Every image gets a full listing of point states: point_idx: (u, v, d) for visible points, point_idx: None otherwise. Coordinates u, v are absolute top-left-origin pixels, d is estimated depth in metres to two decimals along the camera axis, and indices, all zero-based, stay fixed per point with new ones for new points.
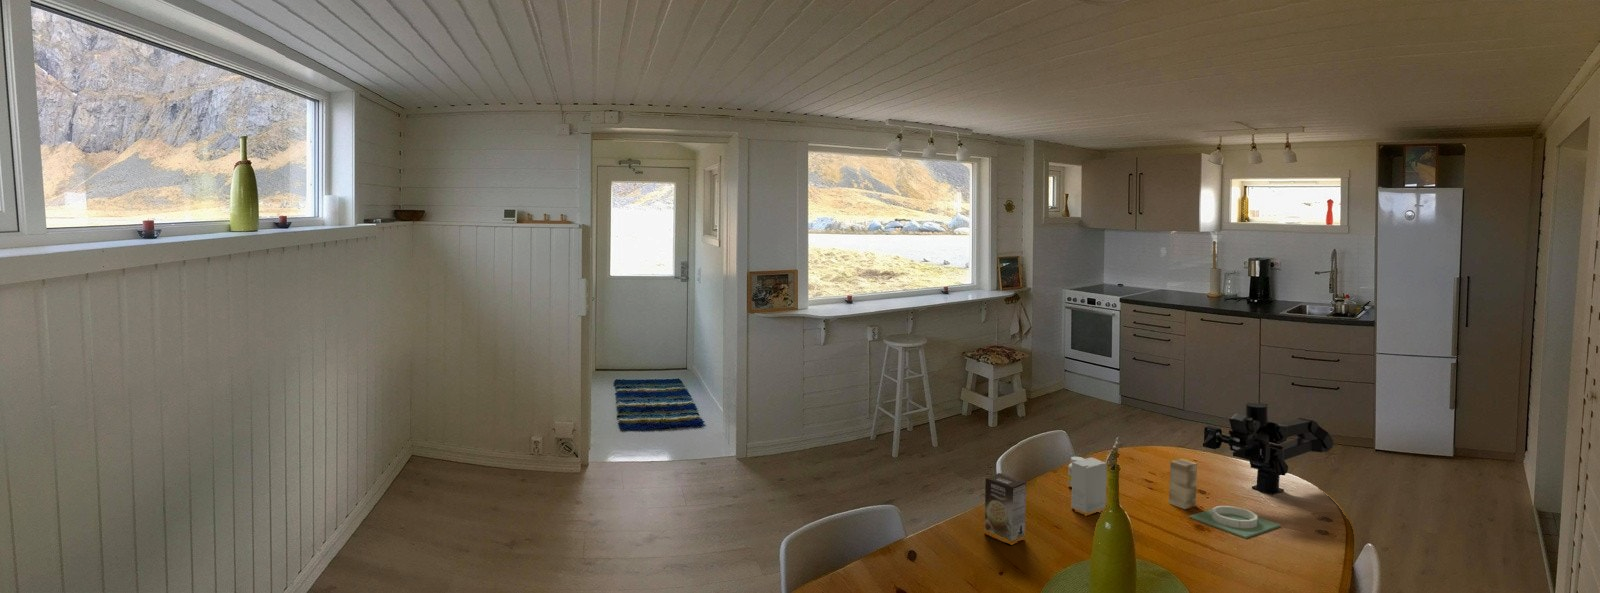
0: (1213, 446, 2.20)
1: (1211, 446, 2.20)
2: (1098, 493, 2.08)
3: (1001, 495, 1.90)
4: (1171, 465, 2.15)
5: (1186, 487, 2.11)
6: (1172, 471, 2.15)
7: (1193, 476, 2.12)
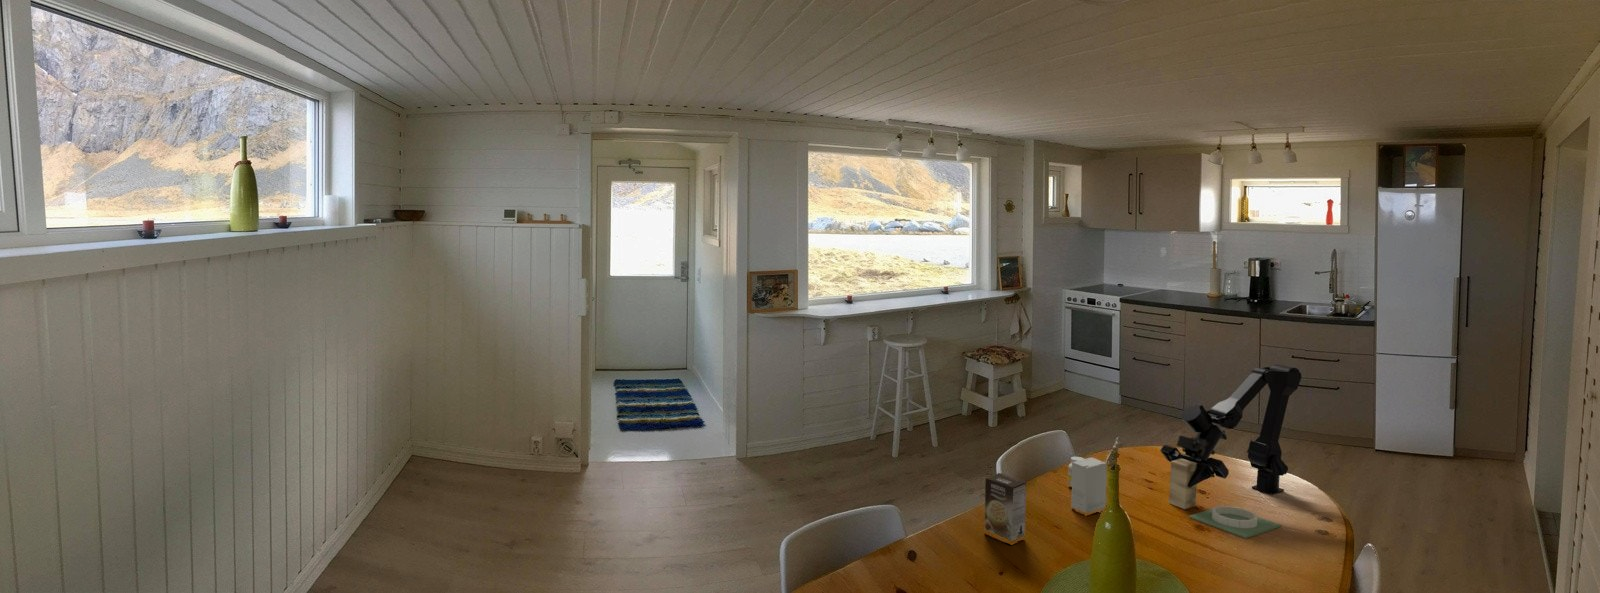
0: None
1: None
2: (1098, 493, 2.08)
3: (1001, 495, 1.90)
4: (1171, 465, 2.15)
5: (1186, 487, 2.11)
6: (1172, 471, 2.15)
7: None
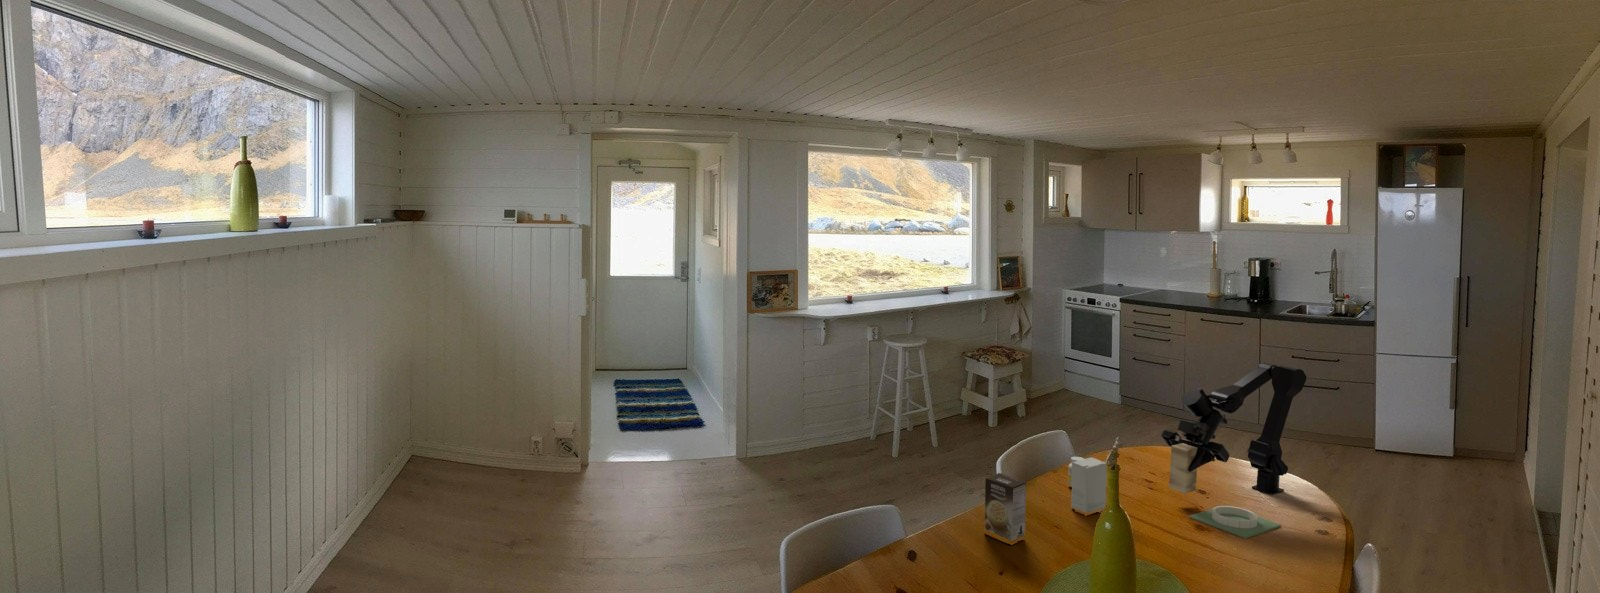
0: None
1: None
2: (1098, 493, 2.08)
3: (1001, 495, 1.90)
4: (1172, 450, 2.14)
5: (1186, 472, 2.11)
6: (1173, 455, 2.14)
7: None
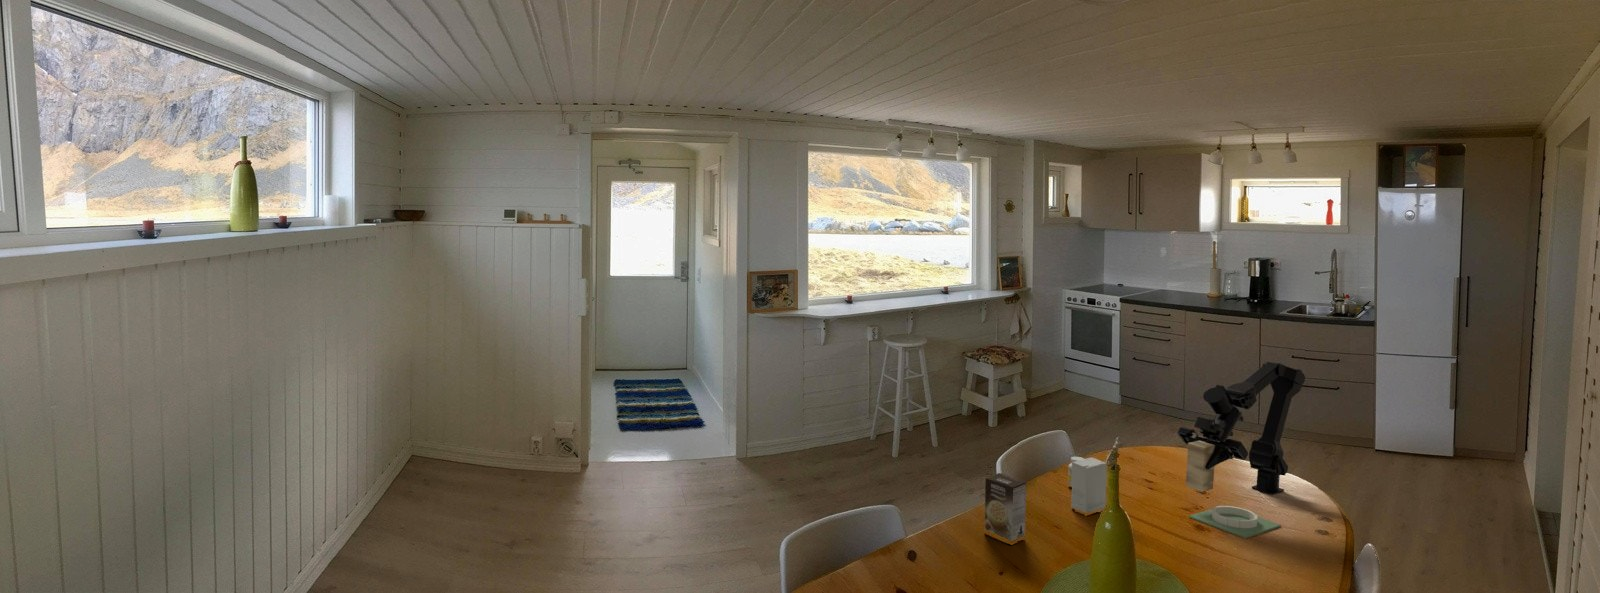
0: None
1: None
2: (1098, 493, 2.08)
3: (1001, 495, 1.90)
4: (1189, 447, 2.10)
5: (1203, 469, 2.07)
6: (1189, 453, 2.10)
7: None
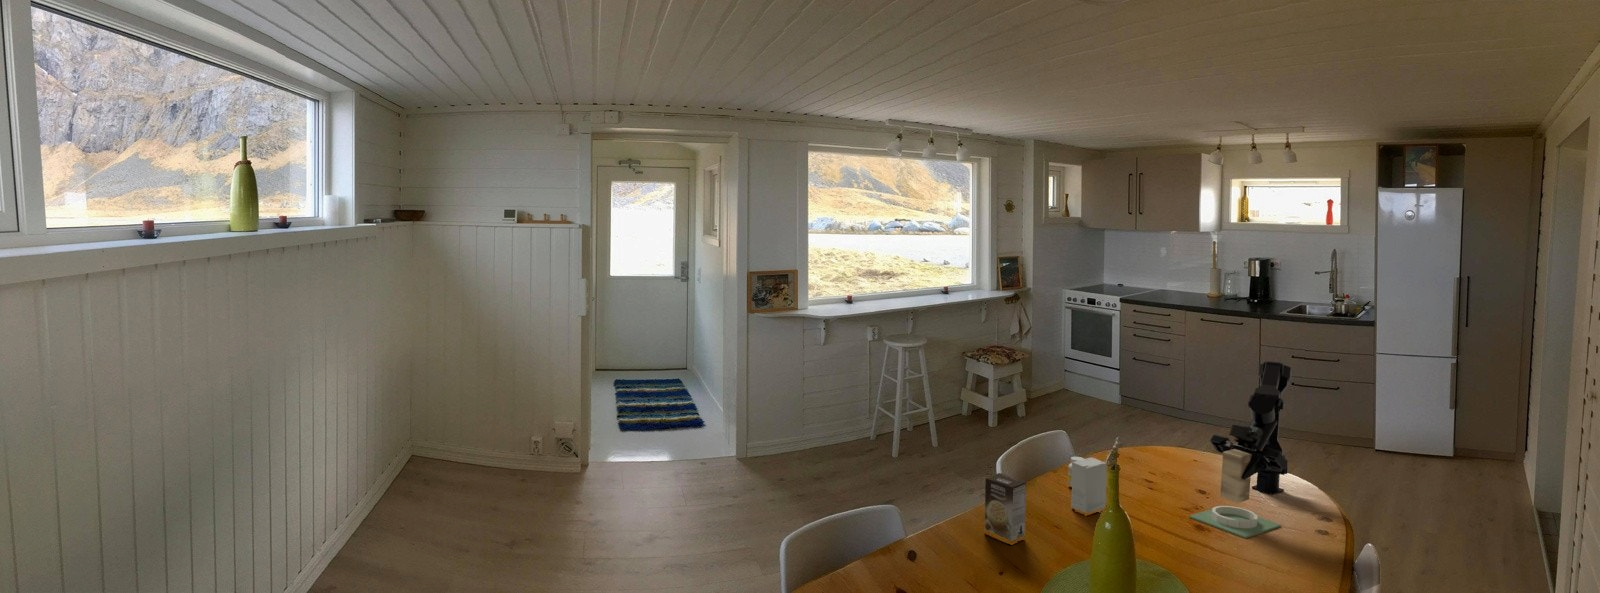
0: None
1: None
2: (1098, 493, 2.08)
3: (1001, 495, 1.90)
4: (1224, 456, 2.01)
5: (1240, 479, 1.98)
6: (1225, 462, 2.01)
7: None
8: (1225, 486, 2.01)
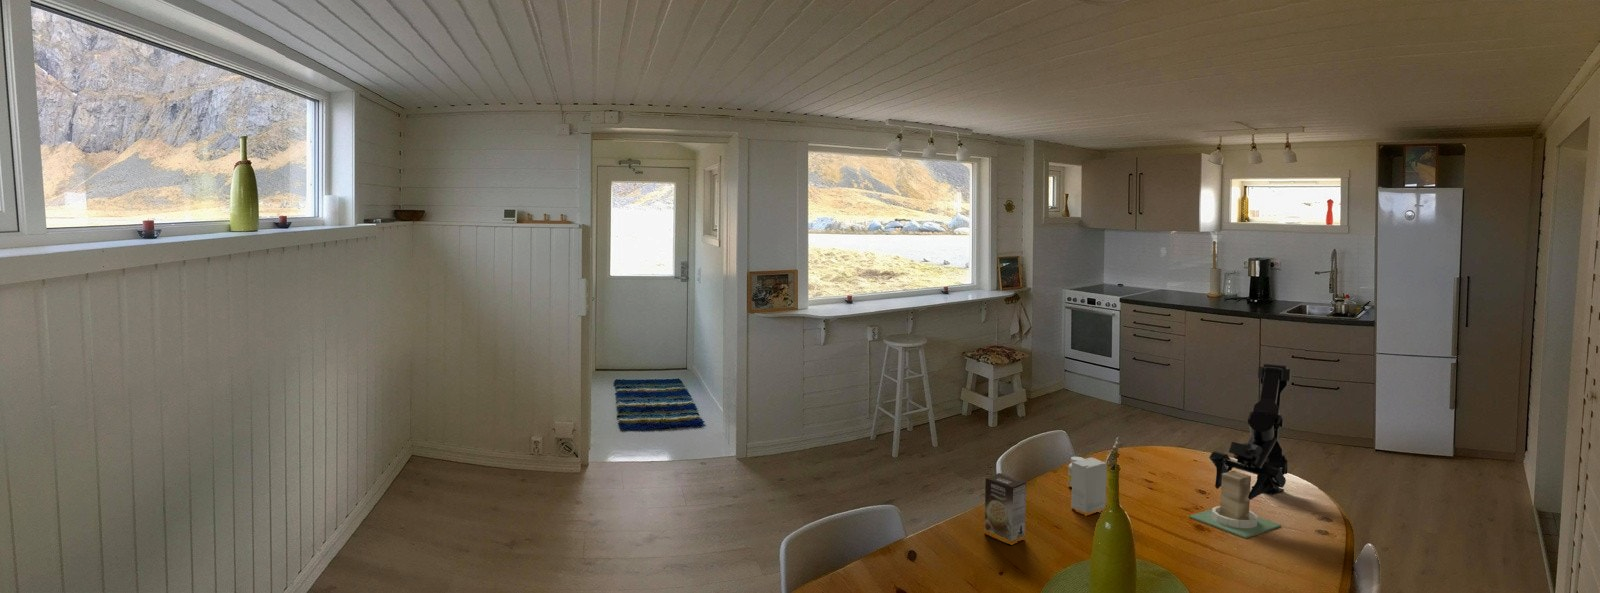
0: None
1: None
2: (1098, 493, 2.08)
3: (1002, 495, 1.90)
4: (1222, 478, 2.02)
5: (1239, 501, 1.99)
6: (1223, 484, 2.02)
7: (1246, 489, 2.00)
8: (1224, 508, 2.02)
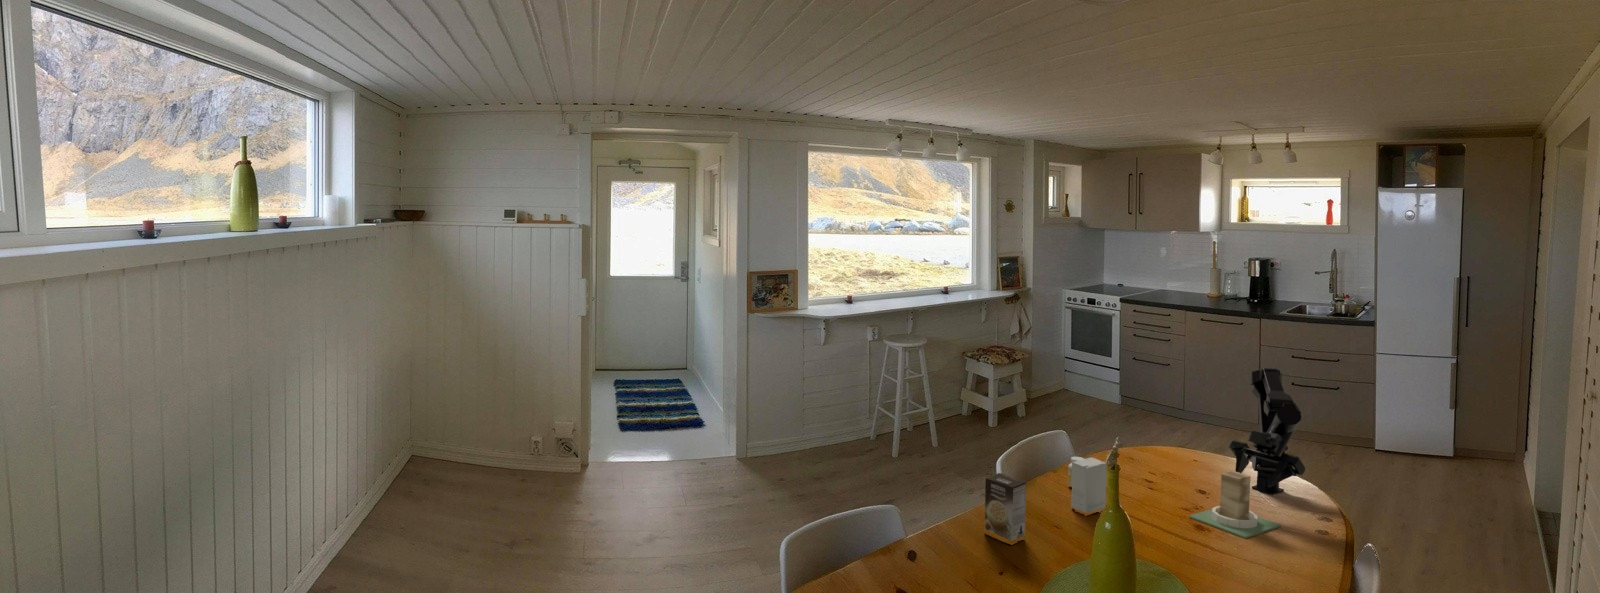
0: (1246, 464, 2.11)
1: (1244, 466, 2.11)
2: (1098, 493, 2.08)
3: (1002, 495, 1.90)
4: (1222, 478, 2.02)
5: (1239, 501, 1.99)
6: (1223, 484, 2.02)
7: (1246, 489, 2.00)
8: (1224, 508, 2.02)
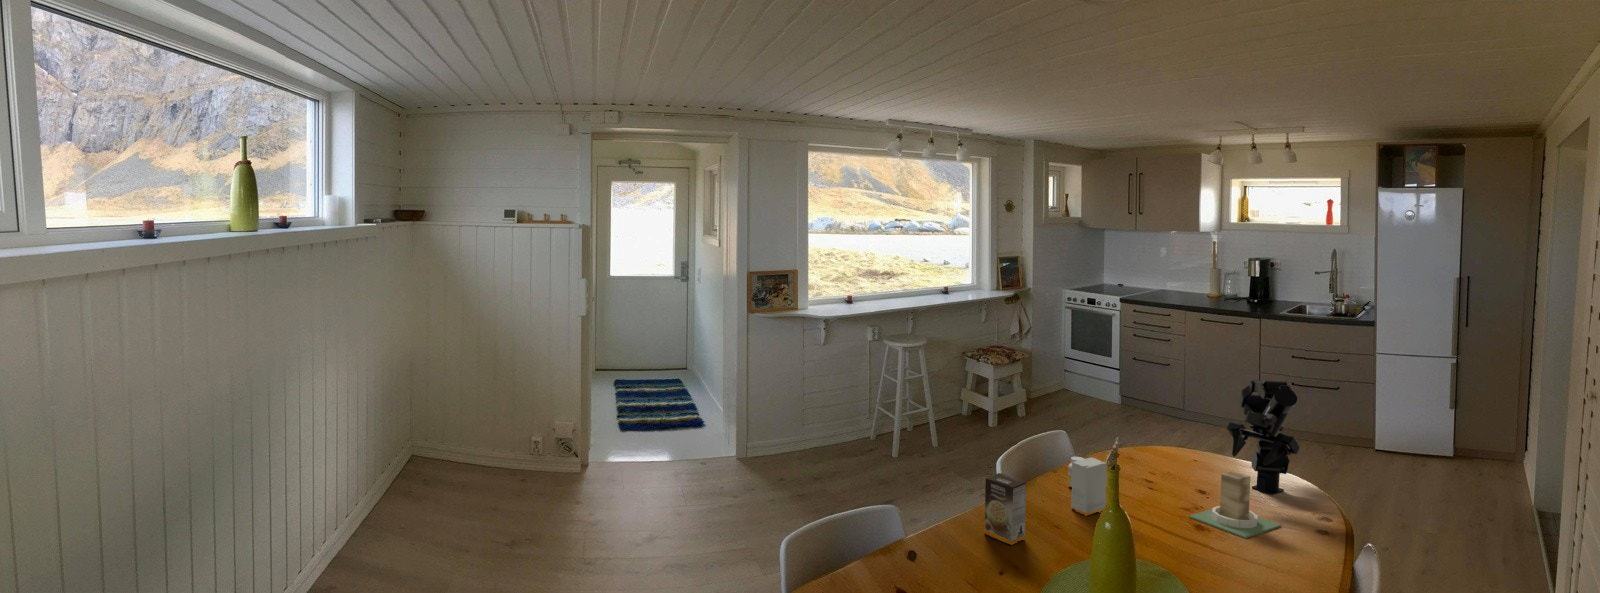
0: (1242, 444, 2.20)
1: (1241, 447, 2.19)
2: (1098, 493, 2.08)
3: (1002, 495, 1.90)
4: (1222, 478, 2.02)
5: (1239, 501, 1.99)
6: (1223, 484, 2.02)
7: (1246, 489, 2.00)
8: (1224, 508, 2.02)
